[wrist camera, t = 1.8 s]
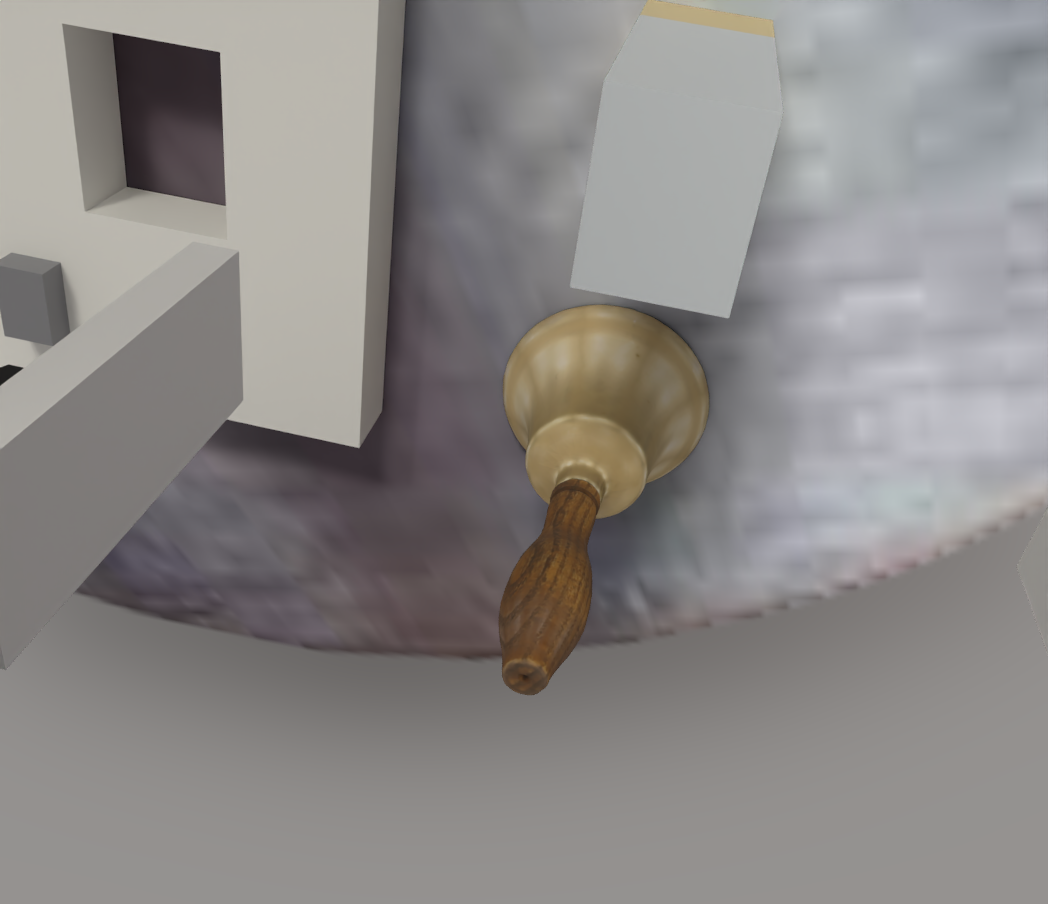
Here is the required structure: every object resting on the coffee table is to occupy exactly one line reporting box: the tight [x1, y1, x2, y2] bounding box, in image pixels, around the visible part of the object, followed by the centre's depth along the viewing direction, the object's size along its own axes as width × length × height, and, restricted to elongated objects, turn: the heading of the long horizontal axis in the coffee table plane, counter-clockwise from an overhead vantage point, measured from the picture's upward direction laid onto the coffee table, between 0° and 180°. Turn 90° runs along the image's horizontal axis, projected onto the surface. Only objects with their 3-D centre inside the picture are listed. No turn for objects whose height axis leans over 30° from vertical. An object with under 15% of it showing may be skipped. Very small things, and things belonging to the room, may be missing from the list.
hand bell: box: [499, 305, 709, 695], centre depth 34 cm, size 8×8×16 cm
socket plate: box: [0, 0, 406, 448], centre depth 35 cm, size 22×16×4 cm
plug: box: [570, 0, 784, 319], centre depth 28 cm, size 5×4×12 cm
